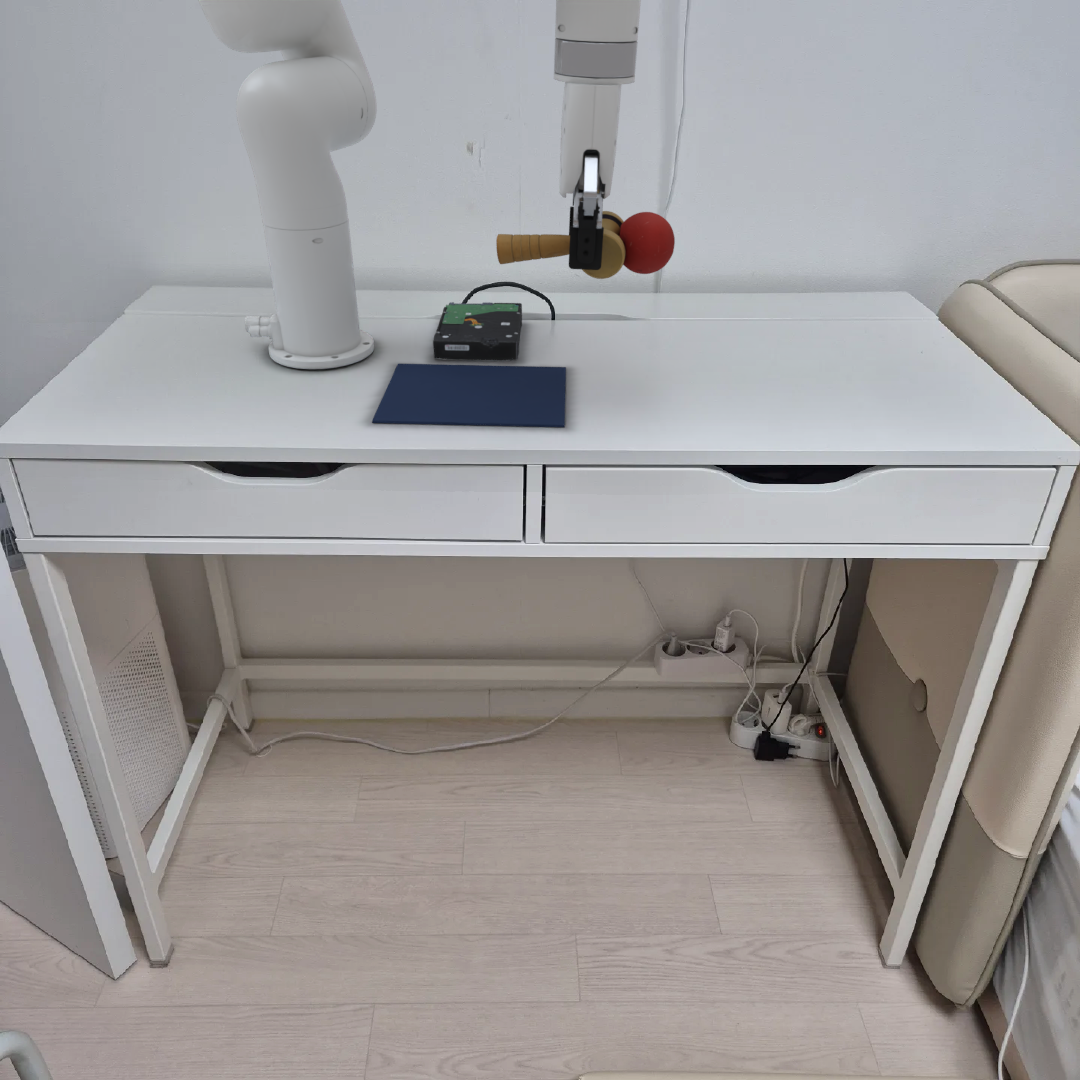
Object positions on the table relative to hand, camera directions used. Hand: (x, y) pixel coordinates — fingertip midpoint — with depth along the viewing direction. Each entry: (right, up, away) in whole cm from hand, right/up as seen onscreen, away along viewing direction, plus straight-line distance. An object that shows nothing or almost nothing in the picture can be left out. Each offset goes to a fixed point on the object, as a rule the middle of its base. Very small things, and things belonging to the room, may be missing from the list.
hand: (584, 256), depth 92 cm
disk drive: (-12, -4, +22) cm, 26 cm away
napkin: (-12, -13, +8) cm, 19 cm away
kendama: (0, -1, +1) cm, 2 cm away
